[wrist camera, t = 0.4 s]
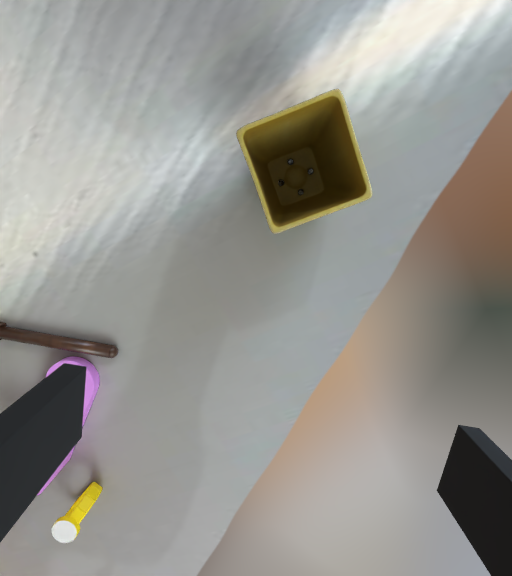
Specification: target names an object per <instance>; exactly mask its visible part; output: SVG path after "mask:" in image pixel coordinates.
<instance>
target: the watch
mask: <svg viewBox="0 0 512 576" xmlns="http://www.w3.org/2000/svg"><path fill="white" fill-rule="evenodd" d="M101 491H102V487H101V486H100V485H98V484H97V483H96V482H92V483H91V484H90V485H89V487H88V488H87V489H86V490H85V491H84V492H83V494H82V495H81V496H80V497H79V498H78V499H77V501H76V502H75V503H74V504H73V506H72V507H71V508H70V510H69V511H68V512H67V513H66V515H65V516H63V517H60V518H59V519H58V520H57V521H56V522H55V523H54V525H53V527H52V535H53V537H54V538H55V539H56V540H57V541H59V542H62V543H69V542H72V541H73V540H74V539H75V538H76V537H77V535H78V533H79V531H80V525H79V523H80V522H81V521H82V519H83V518H84V517H85V515H86V514H87V513H88V511H89V510H90V508H91V507H92V506H93V504H94V503H95V501H96V500H97V498H98V497H99V495H100V493H101Z"/></svg>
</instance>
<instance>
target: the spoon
mask: <svg viewBox="0 0 512 576" xmlns="http://www.w3.org/2000/svg"><path fill="white" fill-rule="evenodd" d="M1 339H6V340H11V341H17V342H23V343H28V344H34V345H40V346H45V347H51V348H57V349H62V350H68V351H74V352H79V353H85V354H91V355H96V356H102V357H108V358H113V357H115V356H116V355H117V354H118V349H117V347H116V346H113V345H108V344H102V343H96V342H91V341H85V340H79V339H74V338H68V337H62V336H57V335H51V334H45V333H40V332H34V331H28V330H23V329H17V328H11V327H6V323H2V322H0V340H1Z"/></svg>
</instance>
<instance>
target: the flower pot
mask: <svg viewBox="0 0 512 576" xmlns="http://www.w3.org/2000/svg"><path fill="white" fill-rule="evenodd" d="M236 134H237V139H238V141H239V144H240V146H241V149H242V151H243V154H244V157H245V159H246V162H247V164H248V167H249V170H250V172H251V175H252V178H253V180H254V183H255V186H256V189H257V192H258V195H259V198H260V201H261V204H262V207H263V210H264V213H265V216H266V219H267V222H268V225H269V228H270V230H271V232H272V233H274V234H277V233H280V232H283V231H285V230H288V229H290V228H293V227H296V226H298V225H301V224H303V223H306V222H309V221H311V220H314V219H317V218H319V217H322V216H325V215H328V214H330V213H333V212H335V211H338V210H341V209H344V208H346V207H349V206H352V205H355V204H357V203H360V202H363V201H365V200H368V199H369V198H371V197H372V188H371V185H370V182H369V178H368V175H367V172H366V168H365V165H364V162H363V159H362V156H361V153H360V149H359V146H358V142H357V140H356V136H355V133H354V130H353V126H352V123H351V120H350V116H349V112H348V109H347V106H346V103H345V100H344V97H343V95H342V93H341V91H340V90H339V89H334V90H331V91H328V92H326V93H323V94H321V95H319V96H316V97H314V98H312V99H310V100H307V101H305V102H302V103H300V104H297V105H295V106H293V107H290V108H288V109H285V110H283V111H280V112H278V113H275V114H273V115H270V116H268V117H265V118H263V119H260V120H257V121H255V122H252V123H250V124H247V125H245V126H243V127H241V128H240V129H238V131H237V133H236ZM289 159H292V160H293V164H292V165H289V164H288V160H289ZM309 169H312V170H313V173H312V174H309V173H308V170H309ZM280 180H283V181H284V184H283V185H282V186H280V185H279V184H278V182H279V181H280ZM300 189H301V190H303V194H302V195H299V194H298V191H299V190H300Z"/></svg>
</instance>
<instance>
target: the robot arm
mask: <svg viewBox="0 0 512 576" xmlns="http://www.w3.org/2000/svg"><path fill="white" fill-rule="evenodd" d="M86 368H87V367H86V366H80V365H73V364H67V363H64V364H62V365H61V366H60V367H58V368H57V369H56V370H55V371H53V372H52V373H51V374H50V375H48V376H47V377H46V378H45V379H43V380H42V381H41V382H40V383H38V384H37V385H36V386H35V387H33V388H32V389H31V390H30V391H28V392H27V393H26V394H25V395H23V396H22V397H21V398H20V399H18V400H17V401H16V402H15V403H13V404H12V405H11V406H10V407H8V408H7V409H6V410H5V411H3V412H2V413H1V414H0V542H1V541H2V540H3V538H4V537H5V536H6V534H7V533H8V532H9V530H10V529H11V528H12V527H13V525H14V524H15V523H16V521H17V520H18V519H19V518H20V516H21V515H22V514H23V512H24V511H25V510H26V508H27V507H28V506H29V505H30V503H31V502H32V501H33V499H34V498H35V497H36V495H37V494H38V493H39V492H40V490H41V489H42V488H43V486H44V485H45V484H46V482H47V481H48V480H49V479H50V477H51V476H52V475H53V473H54V472H55V471H56V470H57V468H58V467H59V466H60V464H61V463H62V462H63V460H64V459H65V458H66V457H67V455H68V454H69V453H70V451H71V450H72V449H73V447H74V446H75V445H76V444H77V442H78V441H79V440H80V438H81V437H82V423H83V409H84V396H85V382H86ZM437 491H438V493H439V495H440V496H441V498H442V499H443V501H444V502H445V504H446V506H447V507H448V509H449V510H450V512H451V513H452V515H453V517H454V518H455V520H456V521H457V523H458V524H459V526H460V527H461V529H462V531H463V532H464V533H465V535H466V537H467V538H468V540H469V542H470V543H471V545H472V546H473V548H474V549H475V551H476V552H477V554H478V556H479V557H480V559H481V560H482V562H483V564H484V565H485V567H486V568H487V570H488V571H489V573H490V574H491V576H512V460H511V459H510V458H509V457H508V456H507V455H506V454H505V453H504V452H503V451H502V450H501V449H500V448H499V447H498V446H497V445H496V444H495V443H494V442H493V441H492V440H490V438H489V437H488V436H487V435H486V434H485V433H484V432H483V431H482V430H481V429H479V428H474V427H468V426H461V425H458V428H457V431H456V434H455V437H454V440H453V443H452V446H451V449H450V452H449V455H448V459H447V461H446V465H445V467H444V471H443V474H442V477H441V480H440V483H439V486H438V489H437Z"/></svg>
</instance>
